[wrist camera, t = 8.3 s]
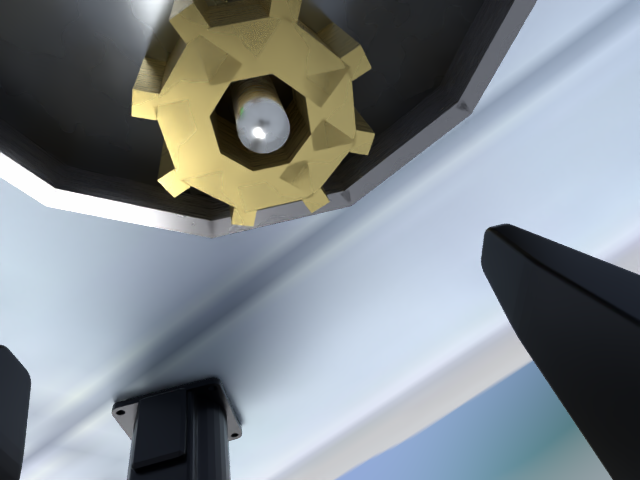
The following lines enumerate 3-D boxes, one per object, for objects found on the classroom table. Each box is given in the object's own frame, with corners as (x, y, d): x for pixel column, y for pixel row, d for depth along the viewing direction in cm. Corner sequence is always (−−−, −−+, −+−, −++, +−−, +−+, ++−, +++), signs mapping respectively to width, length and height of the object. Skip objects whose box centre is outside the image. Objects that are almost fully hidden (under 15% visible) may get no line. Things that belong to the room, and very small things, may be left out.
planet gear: (353, 157, 19) (378, 197, 17) (184, 193, 19) (182, 242, 16) (335, -40, 15) (366, -28, 12) (113, -1, 14) (93, 20, 11)
